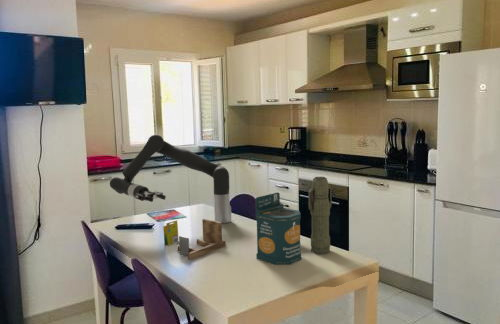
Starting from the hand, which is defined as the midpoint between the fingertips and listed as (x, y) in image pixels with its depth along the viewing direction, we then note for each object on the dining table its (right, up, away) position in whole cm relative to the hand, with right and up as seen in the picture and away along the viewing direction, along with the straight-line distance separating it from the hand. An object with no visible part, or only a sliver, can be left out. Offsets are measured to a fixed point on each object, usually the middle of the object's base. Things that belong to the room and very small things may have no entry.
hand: (158, 198), depth 221 cm
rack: (+23, -23, -15) cm, 36 cm away
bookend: (+17, -24, -22) cm, 37 cm away
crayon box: (+7, -23, -4) cm, 24 cm away
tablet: (-7, -16, +55) cm, 58 cm away
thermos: (+80, -23, -21) cm, 86 cm away
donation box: (+61, -24, -29) cm, 72 cm away
